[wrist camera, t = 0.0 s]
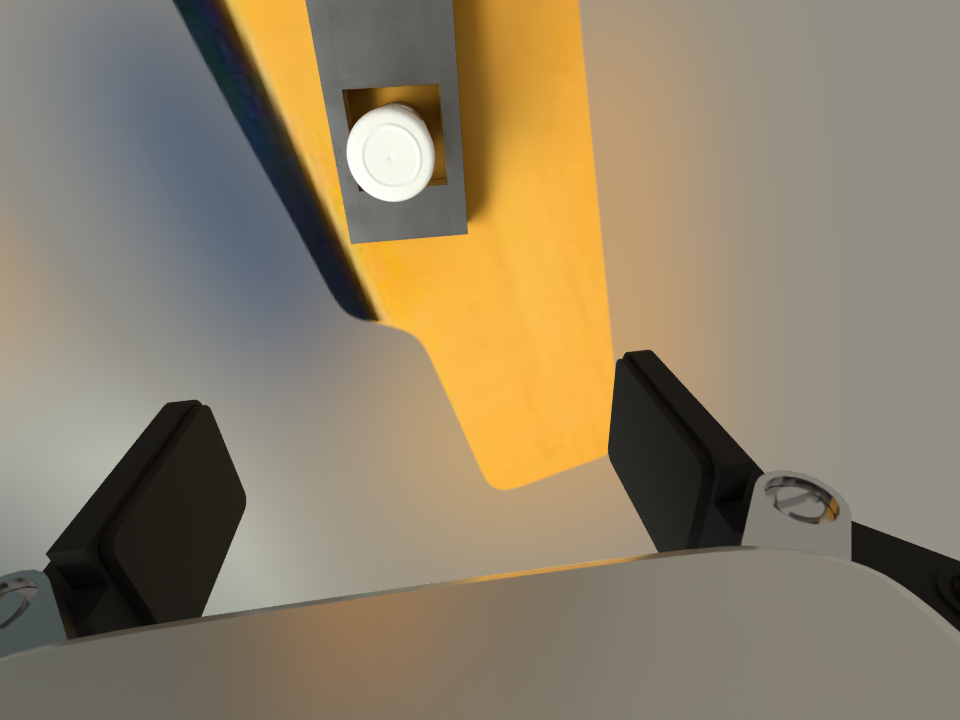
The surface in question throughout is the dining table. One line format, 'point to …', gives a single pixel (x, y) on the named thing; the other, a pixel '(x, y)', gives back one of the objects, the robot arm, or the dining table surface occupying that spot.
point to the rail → (392, 63)
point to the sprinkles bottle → (391, 152)
